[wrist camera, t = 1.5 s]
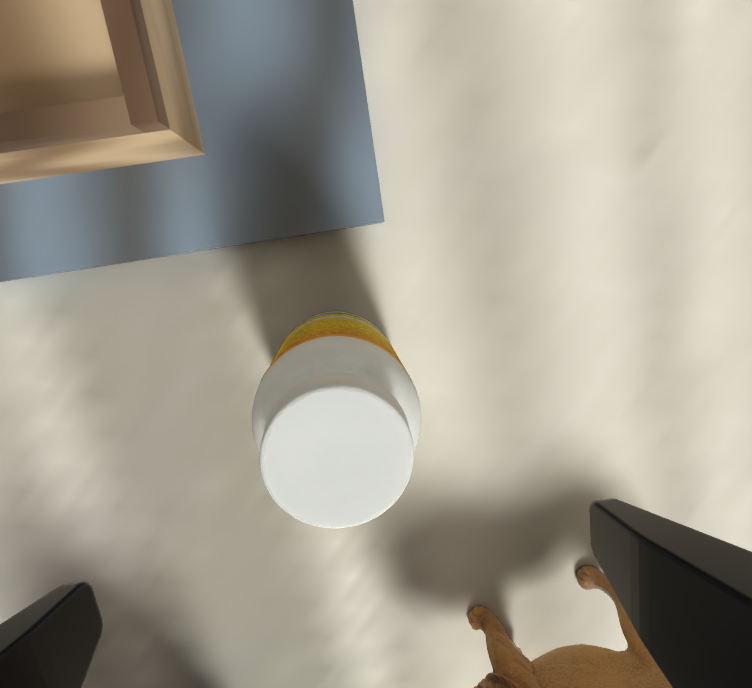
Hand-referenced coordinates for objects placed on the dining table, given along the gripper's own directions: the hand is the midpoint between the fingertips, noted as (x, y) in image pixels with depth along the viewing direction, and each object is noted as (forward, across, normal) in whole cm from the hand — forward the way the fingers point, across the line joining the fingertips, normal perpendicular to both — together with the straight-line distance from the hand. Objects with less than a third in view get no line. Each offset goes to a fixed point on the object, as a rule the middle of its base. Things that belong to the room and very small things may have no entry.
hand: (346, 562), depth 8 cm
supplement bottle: (+14, 0, 0) cm, 14 cm away
